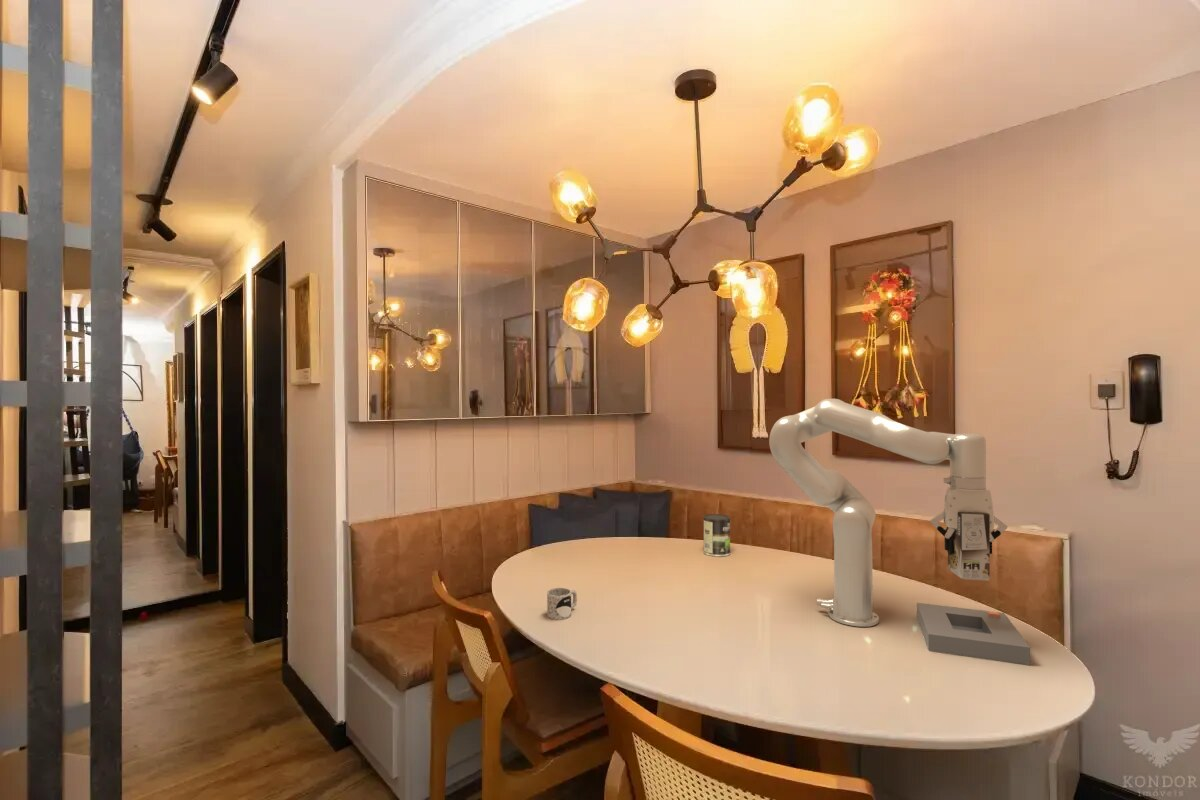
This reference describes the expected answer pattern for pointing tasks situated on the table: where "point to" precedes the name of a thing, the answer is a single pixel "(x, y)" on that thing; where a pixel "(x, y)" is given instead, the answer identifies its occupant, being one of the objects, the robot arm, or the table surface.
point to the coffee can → (716, 535)
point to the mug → (560, 603)
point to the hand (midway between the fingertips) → (967, 554)
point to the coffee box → (971, 547)
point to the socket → (972, 633)
